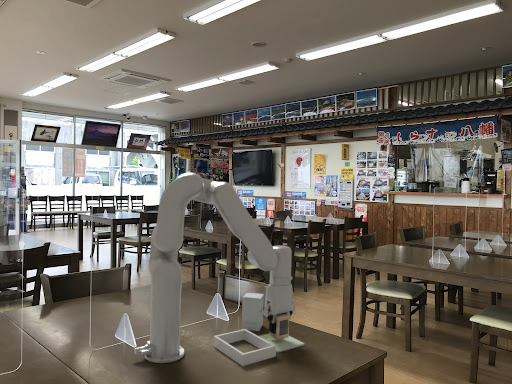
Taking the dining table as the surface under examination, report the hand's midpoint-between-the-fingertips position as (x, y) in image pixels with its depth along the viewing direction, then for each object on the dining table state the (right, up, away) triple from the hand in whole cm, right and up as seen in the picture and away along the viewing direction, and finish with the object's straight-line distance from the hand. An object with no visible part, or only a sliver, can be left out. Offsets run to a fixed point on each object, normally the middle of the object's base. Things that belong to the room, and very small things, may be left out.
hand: (278, 330), depth 142 cm
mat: (0, -4, 0) cm, 4 cm away
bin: (-12, -4, -9) cm, 16 cm away
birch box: (0, -2, 0) cm, 2 cm away
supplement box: (-10, -4, +14) cm, 18 cm away
